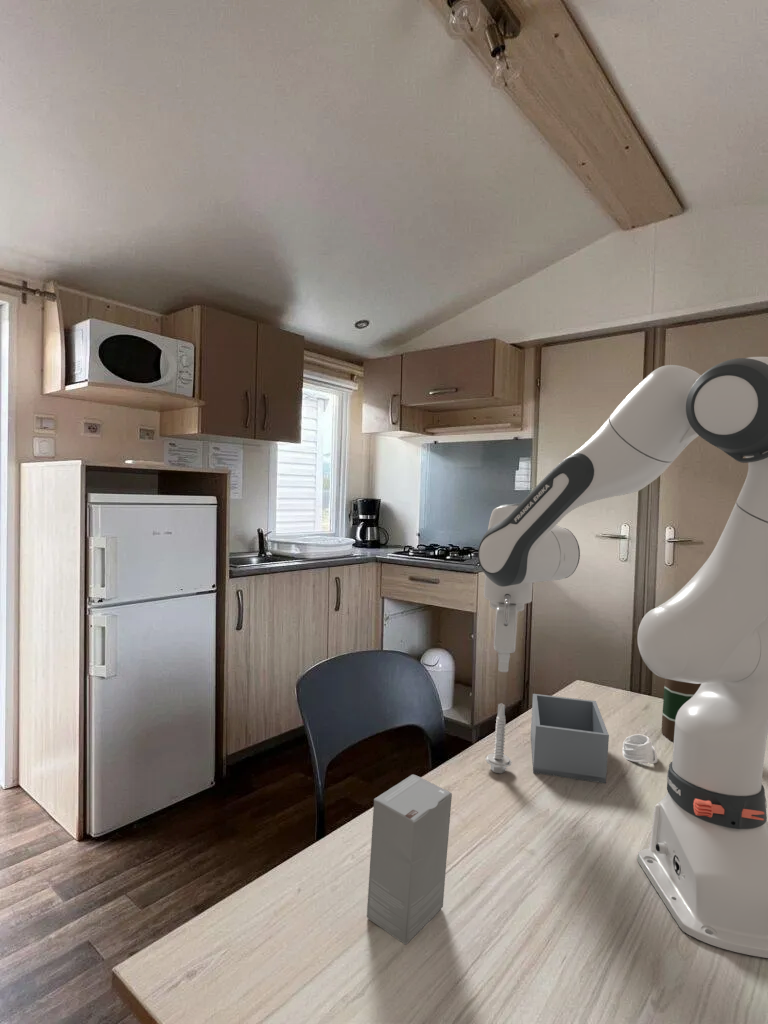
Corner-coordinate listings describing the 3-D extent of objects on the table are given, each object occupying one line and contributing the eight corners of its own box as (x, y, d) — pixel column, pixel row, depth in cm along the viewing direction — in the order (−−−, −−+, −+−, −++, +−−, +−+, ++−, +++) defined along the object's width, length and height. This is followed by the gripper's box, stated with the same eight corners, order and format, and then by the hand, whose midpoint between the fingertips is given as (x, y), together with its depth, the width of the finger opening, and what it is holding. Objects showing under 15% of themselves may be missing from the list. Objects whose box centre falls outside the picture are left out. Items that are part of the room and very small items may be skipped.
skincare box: (404, 885, 79) (410, 769, 78) (449, 912, 74) (456, 789, 73) (362, 920, 72) (368, 793, 71) (408, 951, 68) (415, 817, 67)
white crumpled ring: (661, 774, 116) (666, 751, 115) (625, 766, 117) (630, 743, 116) (650, 753, 124) (654, 731, 123) (617, 746, 125) (621, 724, 124)
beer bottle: (653, 732, 133) (660, 627, 132) (677, 728, 136) (684, 625, 135) (683, 747, 126) (691, 636, 125) (708, 742, 129) (716, 633, 128)
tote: (605, 783, 109) (608, 735, 108) (533, 772, 112) (535, 726, 111) (593, 742, 126) (595, 701, 126) (530, 734, 129) (532, 693, 129)
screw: (510, 778, 109) (484, 774, 110) (511, 766, 114) (485, 762, 115) (514, 709, 108) (487, 705, 110) (515, 700, 113) (489, 696, 114)
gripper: (526, 602, 99) (521, 683, 100) (524, 583, 119) (520, 650, 120) (488, 599, 101) (483, 678, 102) (492, 580, 121) (488, 647, 122)
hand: (503, 663), depth 111 cm, fingers open, 8 cm apart
